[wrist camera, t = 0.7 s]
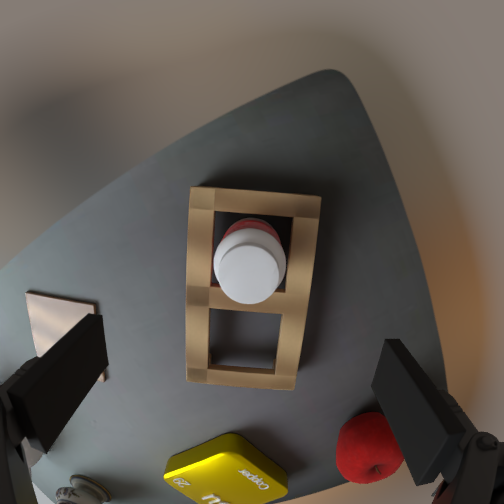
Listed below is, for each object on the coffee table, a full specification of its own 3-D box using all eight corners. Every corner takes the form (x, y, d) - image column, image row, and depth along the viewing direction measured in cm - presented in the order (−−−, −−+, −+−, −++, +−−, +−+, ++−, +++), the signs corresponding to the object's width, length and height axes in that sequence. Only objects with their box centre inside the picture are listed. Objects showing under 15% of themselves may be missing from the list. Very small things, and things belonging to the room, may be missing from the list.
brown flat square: (27, 291, 37) (25, 292, 36) (95, 303, 37) (93, 305, 36) (41, 363, 40) (39, 364, 39) (106, 380, 40) (104, 382, 39)
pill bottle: (215, 226, 35) (196, 248, 24) (270, 209, 34) (276, 224, 23) (233, 279, 36) (223, 322, 25) (286, 264, 35) (298, 301, 25)
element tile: (291, 474, 43) (293, 495, 39) (222, 499, 46) (220, 519, 41) (233, 428, 41) (231, 451, 36) (163, 458, 43) (156, 479, 38)
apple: (367, 387, 39) (391, 440, 28) (402, 414, 40) (427, 462, 30) (314, 429, 41) (325, 485, 30) (353, 451, 42) (369, 502, 31)
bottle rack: (196, 185, 34) (190, 186, 30) (315, 195, 34) (321, 197, 30) (191, 365, 39) (186, 381, 35) (291, 374, 39) (293, 390, 35)
